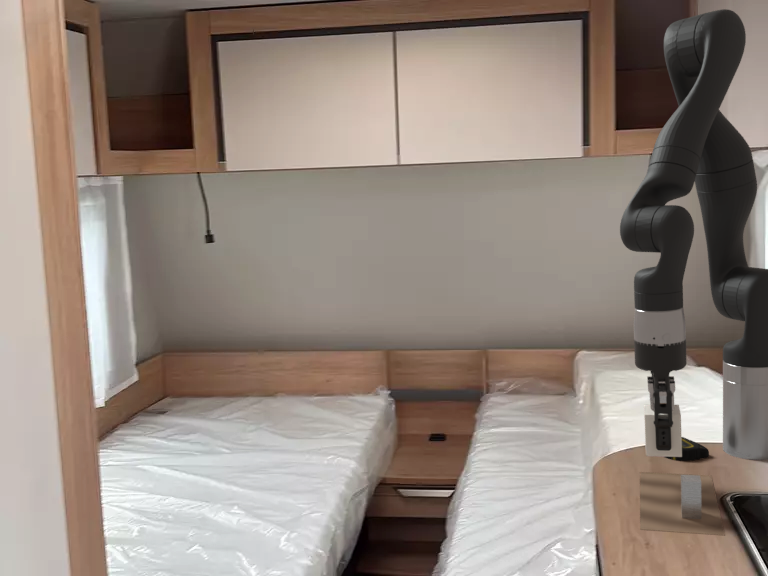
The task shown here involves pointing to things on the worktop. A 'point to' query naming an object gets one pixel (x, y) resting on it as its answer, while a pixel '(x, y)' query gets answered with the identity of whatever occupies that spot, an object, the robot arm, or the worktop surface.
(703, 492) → the board
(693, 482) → the post
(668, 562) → the worktop surface
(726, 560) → the worktop surface
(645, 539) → the worktop surface
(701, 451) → the tape measure
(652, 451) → the white rectangular block
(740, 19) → the robot arm
